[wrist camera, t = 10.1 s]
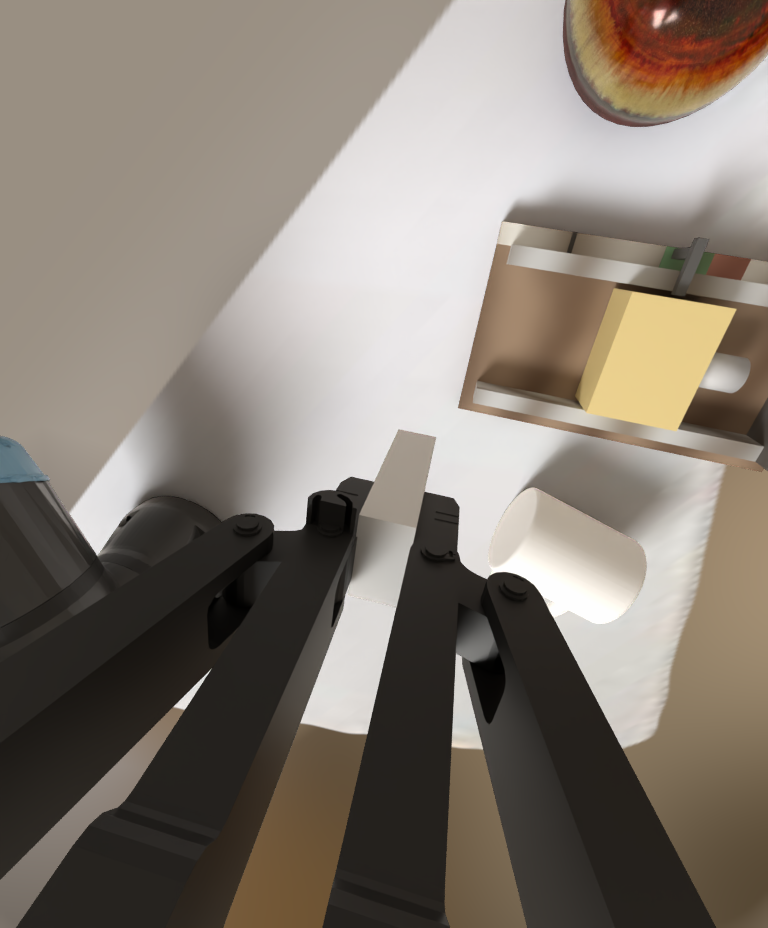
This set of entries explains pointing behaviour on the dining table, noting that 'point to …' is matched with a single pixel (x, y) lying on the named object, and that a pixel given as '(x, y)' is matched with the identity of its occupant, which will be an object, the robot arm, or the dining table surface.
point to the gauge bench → (577, 324)
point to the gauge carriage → (659, 353)
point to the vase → (660, 54)
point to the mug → (568, 557)
